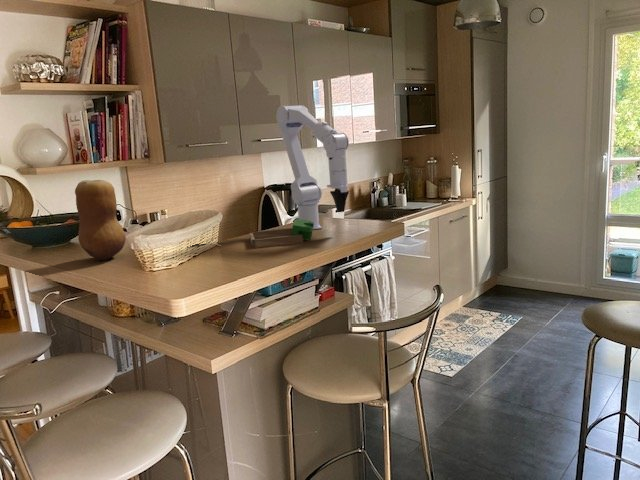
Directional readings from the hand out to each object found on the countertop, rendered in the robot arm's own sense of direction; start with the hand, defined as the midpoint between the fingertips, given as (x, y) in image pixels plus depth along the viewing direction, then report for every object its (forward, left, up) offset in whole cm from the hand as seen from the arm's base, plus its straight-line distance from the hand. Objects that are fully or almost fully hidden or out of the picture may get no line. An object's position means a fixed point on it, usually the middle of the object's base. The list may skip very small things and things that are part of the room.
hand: (340, 211), depth 173 cm
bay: (0, -23, -7) cm, 24 cm away
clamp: (+1, -14, -8) cm, 16 cm away
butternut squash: (-2, -77, -8) cm, 77 cm away
